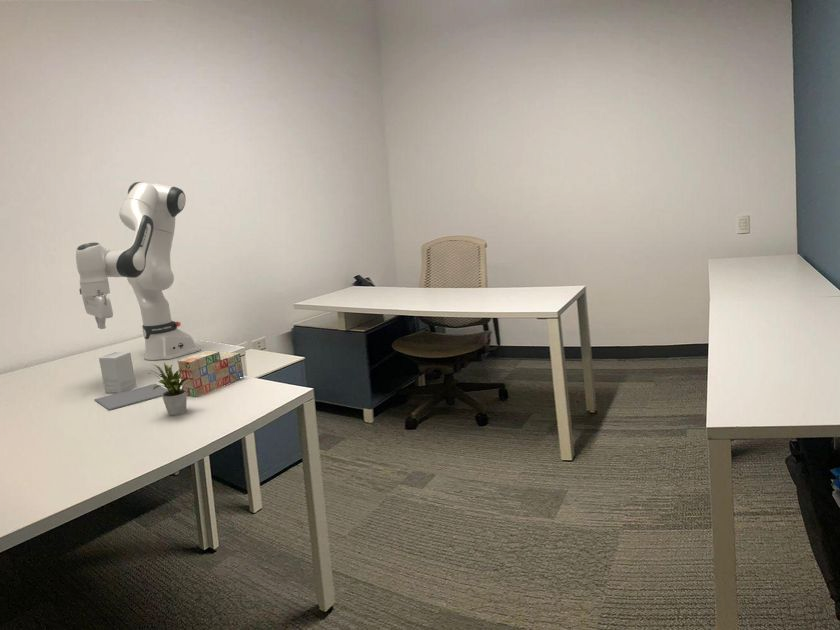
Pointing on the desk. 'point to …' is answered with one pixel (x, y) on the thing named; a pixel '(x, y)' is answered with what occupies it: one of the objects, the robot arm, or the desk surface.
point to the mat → (131, 397)
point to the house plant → (173, 390)
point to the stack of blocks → (209, 371)
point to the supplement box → (117, 372)
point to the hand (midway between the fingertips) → (101, 328)
